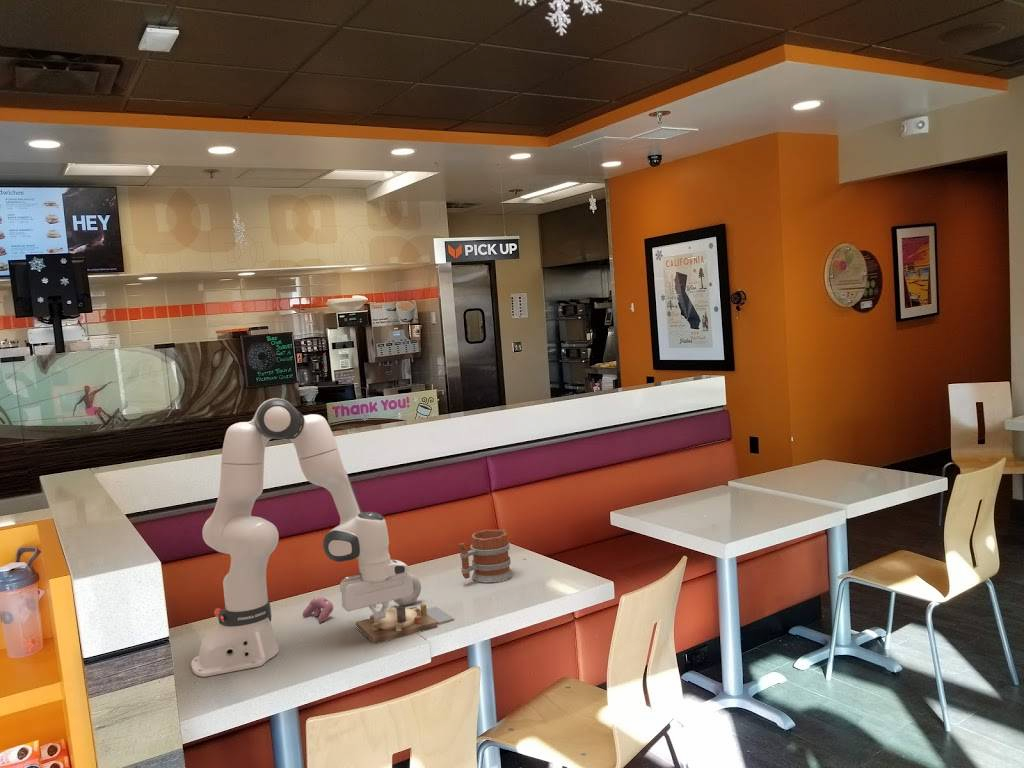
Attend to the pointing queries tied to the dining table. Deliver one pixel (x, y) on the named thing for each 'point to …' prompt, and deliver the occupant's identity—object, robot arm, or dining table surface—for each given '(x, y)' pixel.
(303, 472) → the robot arm
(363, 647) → the dining table surface
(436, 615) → the donut mat
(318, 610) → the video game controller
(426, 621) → the wheel base
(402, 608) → the index wheel
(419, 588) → the donut
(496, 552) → the mug
